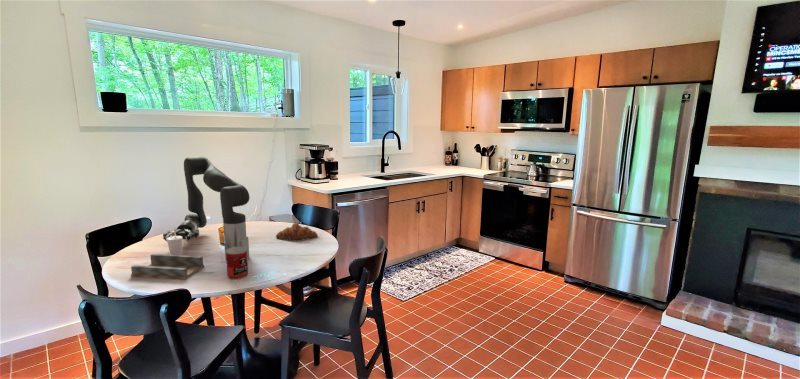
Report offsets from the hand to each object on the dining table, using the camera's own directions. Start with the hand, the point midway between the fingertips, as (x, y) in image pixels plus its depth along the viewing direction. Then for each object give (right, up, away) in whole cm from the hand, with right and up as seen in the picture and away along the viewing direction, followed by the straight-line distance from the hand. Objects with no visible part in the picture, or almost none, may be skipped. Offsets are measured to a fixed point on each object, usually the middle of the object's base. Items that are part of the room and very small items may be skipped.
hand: (177, 238), depth 170 cm
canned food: (+35, -13, -18) cm, 42 cm away
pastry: (+45, -4, +33) cm, 56 cm away
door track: (+6, -11, -17) cm, 21 cm away
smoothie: (+1, -9, -2) cm, 9 cm away
